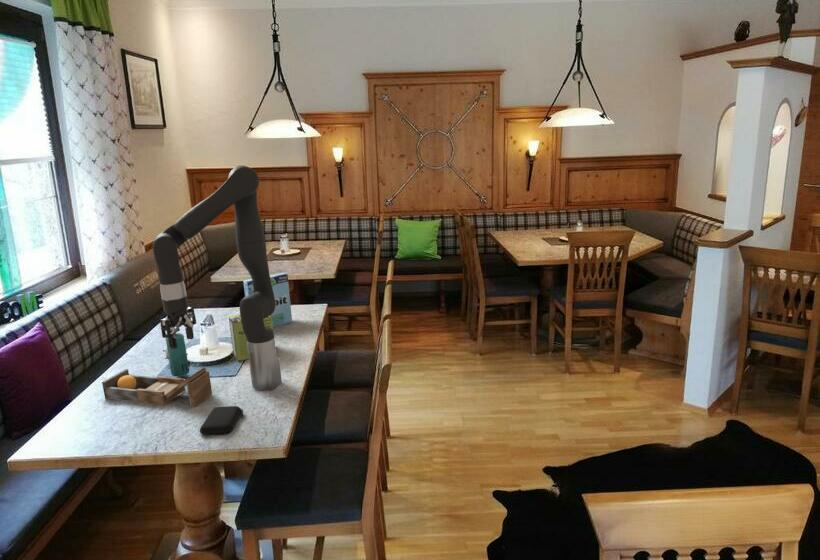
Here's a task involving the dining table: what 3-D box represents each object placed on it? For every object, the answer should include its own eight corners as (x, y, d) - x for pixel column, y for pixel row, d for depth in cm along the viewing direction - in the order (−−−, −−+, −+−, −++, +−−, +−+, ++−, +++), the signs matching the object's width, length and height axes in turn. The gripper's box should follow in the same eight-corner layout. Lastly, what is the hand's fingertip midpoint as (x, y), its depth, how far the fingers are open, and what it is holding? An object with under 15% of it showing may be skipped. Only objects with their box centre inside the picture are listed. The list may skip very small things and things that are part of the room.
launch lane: (214, 393, 198) (210, 366, 196) (194, 408, 188) (189, 379, 186) (128, 384, 208) (123, 358, 206) (105, 398, 198) (99, 371, 196)
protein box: (276, 353, 231) (272, 316, 227) (237, 361, 225) (232, 323, 221) (270, 345, 241) (266, 309, 236) (232, 352, 234) (227, 316, 230)
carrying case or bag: (234, 436, 171) (247, 412, 185) (233, 426, 170) (245, 403, 184) (198, 438, 171) (213, 413, 185) (196, 428, 170) (212, 405, 184)
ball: (135, 370, 202) (143, 385, 203) (123, 375, 205) (131, 390, 205) (122, 377, 197) (130, 393, 198) (110, 382, 199) (118, 397, 200)
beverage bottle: (184, 381, 209) (176, 328, 204) (167, 380, 210) (159, 328, 205) (194, 373, 215) (186, 322, 210) (178, 372, 217) (170, 322, 211)
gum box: (252, 332, 257) (246, 282, 251) (248, 329, 261) (242, 280, 255) (292, 322, 268) (288, 274, 262) (288, 319, 272) (283, 272, 266)
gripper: (178, 289, 193) (186, 335, 197) (149, 302, 179) (158, 351, 183) (197, 289, 191) (205, 336, 195) (169, 302, 177) (178, 352, 181)
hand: (182, 343), depth 189 cm, fingers open, 8 cm apart
